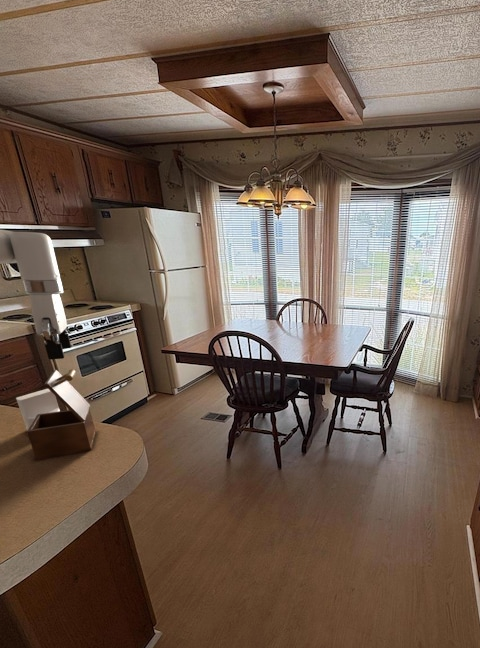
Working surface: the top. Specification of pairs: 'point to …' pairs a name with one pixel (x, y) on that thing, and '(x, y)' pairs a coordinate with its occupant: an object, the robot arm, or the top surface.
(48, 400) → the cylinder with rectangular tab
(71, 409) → the compartment lid
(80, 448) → the compartment
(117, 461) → the top surface
